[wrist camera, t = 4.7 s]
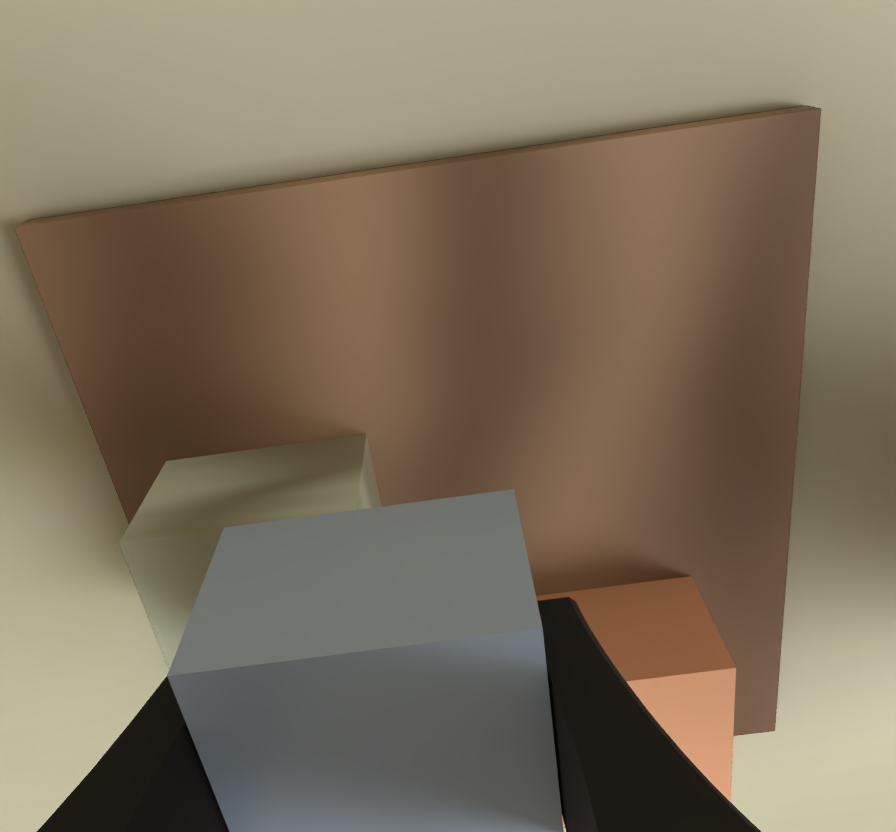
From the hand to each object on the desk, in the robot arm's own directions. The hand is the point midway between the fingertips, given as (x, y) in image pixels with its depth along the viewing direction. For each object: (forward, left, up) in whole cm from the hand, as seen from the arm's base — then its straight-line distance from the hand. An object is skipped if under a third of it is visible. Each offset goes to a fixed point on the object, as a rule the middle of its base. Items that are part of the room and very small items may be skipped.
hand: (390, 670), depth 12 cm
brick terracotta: (-4, +6, -6) cm, 10 cm away
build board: (-1, +2, -7) cm, 7 cm away
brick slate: (0, 0, -1) cm, 1 cm away
